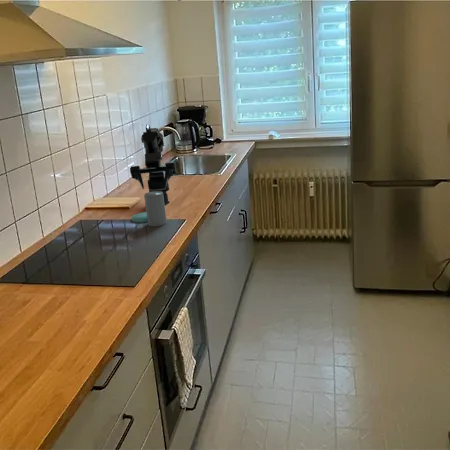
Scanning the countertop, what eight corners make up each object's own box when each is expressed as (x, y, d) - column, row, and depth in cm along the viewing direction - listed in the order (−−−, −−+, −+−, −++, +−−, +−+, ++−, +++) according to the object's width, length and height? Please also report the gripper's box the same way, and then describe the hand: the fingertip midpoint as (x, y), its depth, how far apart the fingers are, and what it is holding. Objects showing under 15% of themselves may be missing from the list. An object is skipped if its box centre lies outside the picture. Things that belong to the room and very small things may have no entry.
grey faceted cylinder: (144, 225, 206) (140, 195, 202) (155, 219, 212) (151, 190, 209) (160, 226, 203) (156, 196, 199) (170, 220, 209) (166, 191, 205)
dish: (126, 221, 214) (126, 218, 213) (141, 213, 223) (141, 211, 222) (148, 223, 209) (147, 220, 208) (162, 215, 218) (162, 212, 217)
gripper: (127, 147, 210) (128, 179, 203) (172, 142, 211) (175, 174, 204) (131, 162, 220) (132, 193, 213) (174, 158, 221) (177, 189, 214)
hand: (154, 187), depth 211 cm, fingers open, 9 cm apart
